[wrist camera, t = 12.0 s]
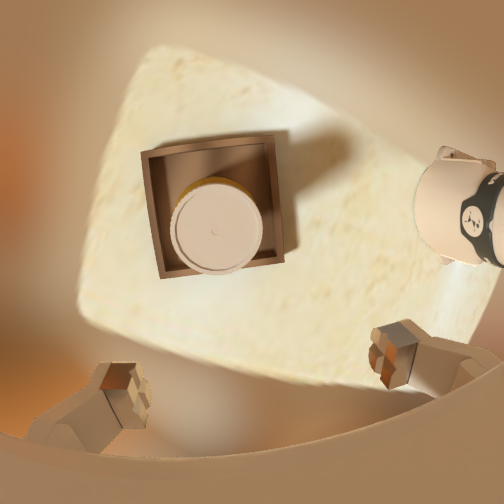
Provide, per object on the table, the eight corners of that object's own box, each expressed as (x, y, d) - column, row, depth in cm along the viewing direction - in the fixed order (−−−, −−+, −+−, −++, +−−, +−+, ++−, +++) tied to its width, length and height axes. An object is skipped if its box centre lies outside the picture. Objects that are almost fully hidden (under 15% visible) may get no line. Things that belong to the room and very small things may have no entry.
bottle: (174, 222, 33) (148, 258, 19) (199, 166, 32) (189, 159, 18) (229, 245, 35) (242, 296, 21) (254, 191, 34) (287, 204, 19)
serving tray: (268, 137, 33) (273, 135, 31) (279, 256, 37) (284, 262, 35) (145, 153, 32) (140, 151, 29) (163, 272, 35) (160, 279, 33)
